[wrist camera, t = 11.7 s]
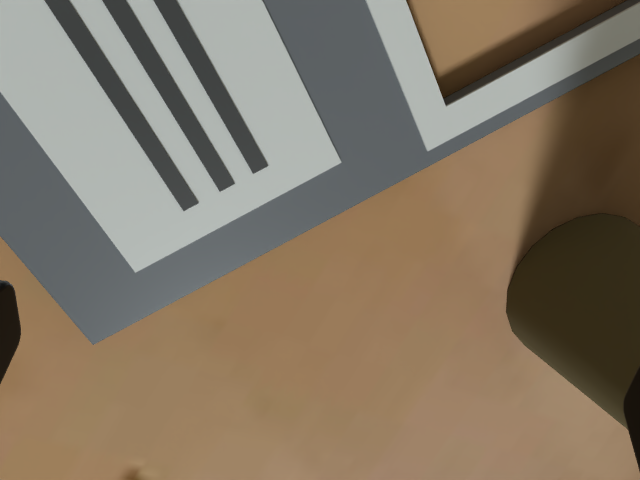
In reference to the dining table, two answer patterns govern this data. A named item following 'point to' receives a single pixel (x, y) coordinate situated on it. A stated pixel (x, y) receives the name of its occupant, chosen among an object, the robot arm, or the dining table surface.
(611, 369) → the olive game pawn
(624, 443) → the dining table surface
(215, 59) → the label plate
